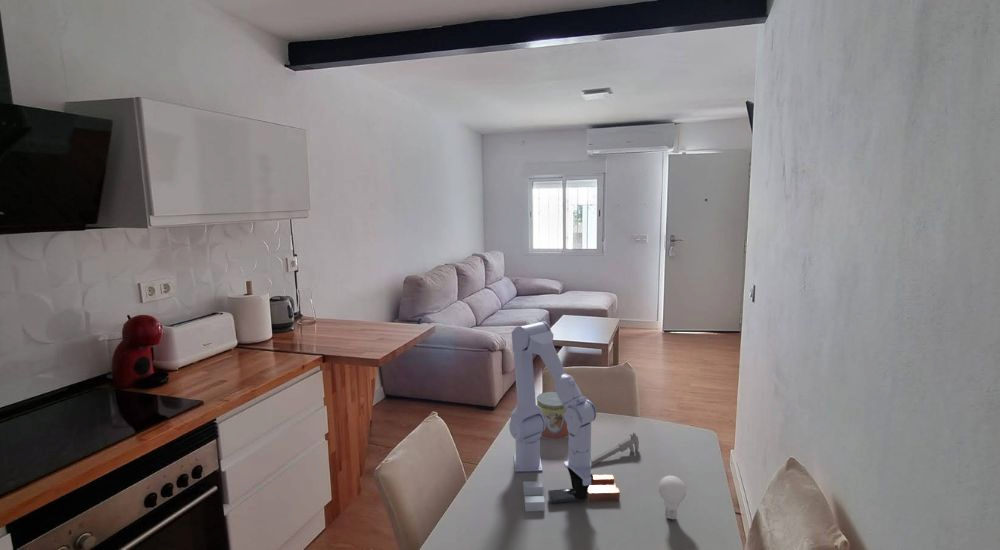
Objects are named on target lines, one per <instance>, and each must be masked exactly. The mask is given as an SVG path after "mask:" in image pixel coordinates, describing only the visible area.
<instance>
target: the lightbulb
mask: <svg viewBox="0 0 1000 550" xmlns="http://www.w3.org/2000/svg"><path fill="white" fill-rule="evenodd" d="M686 488H687V487H686V485H685V483H684V482H683V481H682V479H680V478H679V477H677V476H675V475H666V476H665V475H664V477H662V478H661V479H660V481H659V482H658V492H659V495H660V497H661V498H662V500H663V502H664V504H663V505H664V507H665V513H664V515H665V517H666V519H669V520H676V519H677V518H678V517H677V513H678V512H677V511H678V508H679V506H680V504H681V503H682V502H683V501H684V499H685V497H686V495H687V489H686Z"/></svg>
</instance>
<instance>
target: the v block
mask: <svg viewBox="0 0 1000 550" xmlns="http://www.w3.org/2000/svg"><path fill="white" fill-rule="evenodd" d="M592 475H593V477H594V478H593V481H592V482H591V485H590V486H589V488H588V491H587V492H588V502H591V503H593V502H620V498H621V497H620V495H621V493H620V492H621V491H620V490H619V487H617V485H616V483H615V477H614V475H613V474H592Z"/></svg>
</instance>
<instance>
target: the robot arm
mask: <svg viewBox="0 0 1000 550" xmlns="http://www.w3.org/2000/svg"><path fill="white" fill-rule="evenodd" d="M511 341H512V342H511V343H512V344H511V345H512V352H513V361H514V362H513V363H514V372H515V373H514V374H515V375H514V376H515V387H516V401H517V402H516V403H517V404H516V407H515V408H514V409H513V410H512V411H511V413H510V420H509V429H508V430H509V432H510V435H511V437H512V438H513V439H514V440H515V453H513V461H514V471H515V472H518V473H519V472H542V471H543V466H542V460H541V447H540V446H541V445H540V444H541V436H542V432H543V431H544V430H545V427H546V422H545V419H544V416H543V410H542V409H541V408H540V407H539V406H537V399H536V391H535V389H536V388H535V387H536V386H535V376H534V375H535V374H534V364H533V363H534V362H533V354H534V355H538V356H539V357H540V359H541V360H542V361H543V364H544V365H545V366H546V368H547V370H548V372H549V373H550V375H551V376H552V379H554V380H553V381H554V382H553V388H554V392H556V393H557V394H558V396H559V398H560V400H561V402H562V404H563V406H564V408H565V410H566V411H565V413H564V418H565V421H566V423H567V429H568V432H569V436H568V452H567V453H568V457H567V461H563V466H564V468H566V469H567V471H568V475H569V478H570V481H571V487H572V488H575V493H576V497H577V500H579V501H583V500H582V499H585V497H586V494H587V491H588V488H589V486H590V485H591V482H592V481H593V478H594V477H593V475H594V474H592V473H591V472H592V471H591V470H592V466H591V459H592V458H591V454H592V452H591V450H592V422H594V421H595V420H596V418H597V411H596V407H595V404H594V403H593V402H592V401H591V400H589V399H587V396H585V395H583V394H582V392H581V391H582V390H580V387H579V386H578V384H577V383H576V381H575V379H574V377H573V375H570V374H567V372H566V370H565V368H564V366H563V364H562V361H561V359H560V357H559V354H558V352H557V350H556V348H555V346H554V344H553V341H554V333H553V331H552V329H551V326H550V324H549V323H547V321H543V320H541V321H538V322H535V323H529V324H525V325H518V326H515V328H514V329H513V330H512V331H511ZM572 488H571V489H572Z"/></svg>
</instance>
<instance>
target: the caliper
mask: <svg viewBox="0 0 1000 550" xmlns="http://www.w3.org/2000/svg"><path fill="white" fill-rule="evenodd" d="M629 436H630V437H628V438H627V439H624V440H622V441H621V442H619V443H618V444H617V445H616V446H614V447H611V448H610V449H609V450H606V451H604V452H603V453H601V454H599V455H596V456H595V457H593V458H591V467H593V466H594V465H597V464H598V463H600V462H602V461H604V460H606V459H608V458H610V457H611V456H613V455H615V454H617V453H619V452H621V453H623V452H625V451H627V449H629V450H630V452H631V453H634V452H635V451H637V452H638V450H639V442H640V441H639V437H638V435H637V434H636V433H635V432H632V434H631V433H630V435H629Z"/></svg>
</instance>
